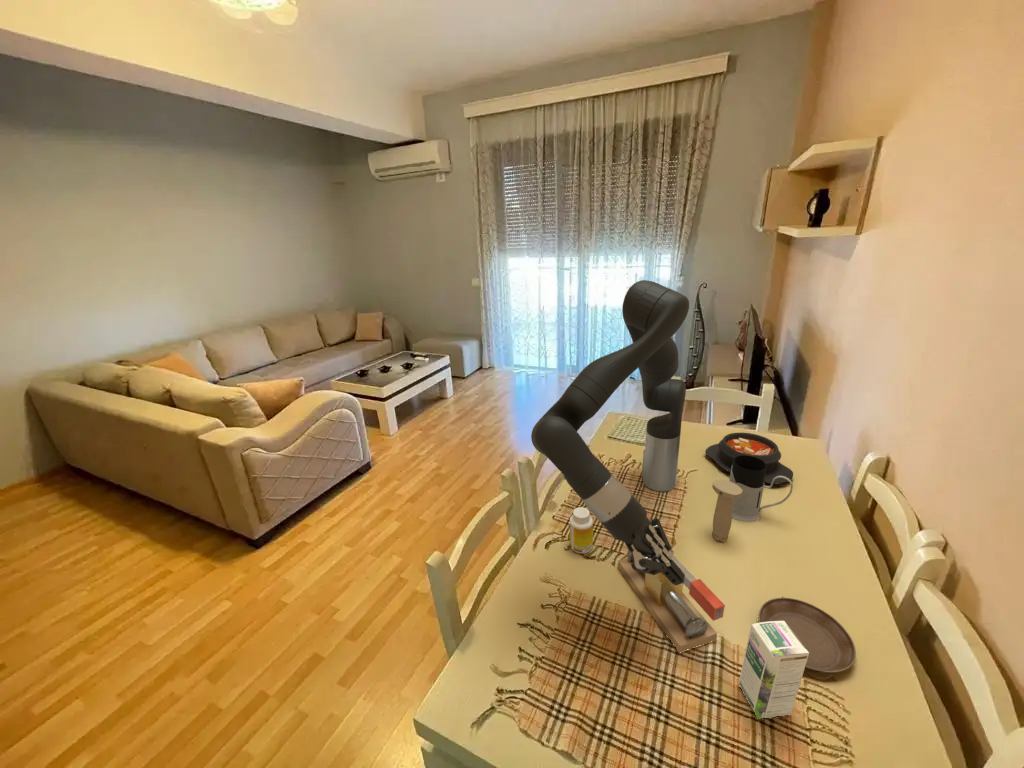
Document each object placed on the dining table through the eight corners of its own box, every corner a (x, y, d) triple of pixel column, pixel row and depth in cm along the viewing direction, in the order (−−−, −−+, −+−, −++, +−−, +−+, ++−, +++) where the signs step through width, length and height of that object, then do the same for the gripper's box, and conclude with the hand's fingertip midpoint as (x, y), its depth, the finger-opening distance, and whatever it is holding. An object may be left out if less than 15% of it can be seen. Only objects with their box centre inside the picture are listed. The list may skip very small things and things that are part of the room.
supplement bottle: (597, 549, 103) (598, 515, 99) (578, 557, 100) (578, 523, 97) (584, 535, 107) (584, 502, 104) (565, 543, 105) (565, 509, 101)
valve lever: (656, 558, 85) (657, 547, 84) (667, 555, 86) (668, 544, 85) (711, 621, 71) (713, 609, 70) (724, 616, 72) (726, 604, 71)
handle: (725, 549, 100) (734, 497, 95) (701, 534, 105) (708, 483, 100) (737, 541, 102) (746, 489, 97) (714, 526, 108) (721, 476, 102)
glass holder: (728, 497, 118) (735, 450, 113) (787, 516, 110) (798, 467, 104) (719, 513, 112) (726, 465, 107) (781, 535, 103) (792, 484, 98)
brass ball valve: (624, 562, 96) (626, 530, 93) (644, 556, 98) (647, 525, 94) (684, 644, 77) (689, 607, 74) (708, 635, 79) (714, 599, 75)
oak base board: (618, 567, 97) (618, 560, 96) (648, 558, 99) (649, 551, 98) (679, 654, 77) (680, 646, 76) (715, 640, 79) (717, 633, 78)
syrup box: (736, 684, 72) (748, 622, 67) (769, 680, 72) (784, 618, 67) (757, 721, 66) (772, 657, 61) (793, 716, 67) (811, 652, 62)
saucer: (874, 676, 72) (879, 665, 71) (791, 686, 71) (794, 675, 70) (810, 603, 86) (813, 593, 85) (740, 611, 85) (742, 601, 84)
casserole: (804, 474, 126) (810, 450, 123) (770, 497, 117) (775, 471, 114) (726, 442, 146) (729, 420, 143) (692, 459, 137) (694, 437, 134)
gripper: (619, 520, 68) (693, 604, 66) (637, 476, 78) (702, 548, 77) (587, 536, 72) (656, 616, 71) (609, 493, 83) (669, 561, 82)
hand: (680, 580), depth 74 cm, fingers closed
